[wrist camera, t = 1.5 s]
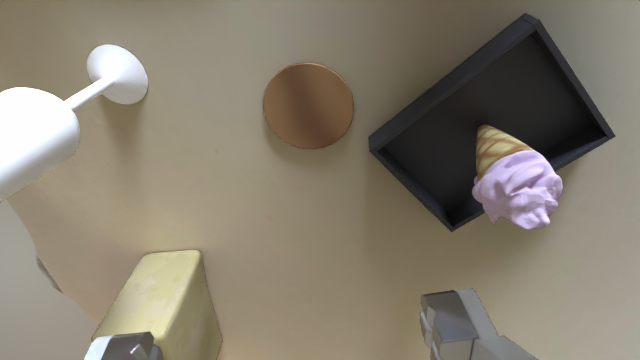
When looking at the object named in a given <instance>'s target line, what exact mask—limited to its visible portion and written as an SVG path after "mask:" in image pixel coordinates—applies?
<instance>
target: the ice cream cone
mask: <svg viewBox="0 0 640 360" xmlns="http://www.w3.org/2000/svg"><path fill="white" fill-rule="evenodd" d="M476 169H477V176H476V177H475V178H474V184H475V186H474V187H473V190H472V195H473V197H474V198H475V199H476V200H477V201H478V202H480V203H482V204H483V209H484V211H485V212H486V213H487V214H488V216H489V218H490V220H491V221H492V223H493V224H495V223H496V221H497V219H498V218H499V217H500V216H502V217H505V218H508V219H509V220H510V221H511V222H512V223H513V224H515V225H518V226H520V227H522V228H524V229H525V230H526V229H527V230H530V229H535V228H542V227H546V226H547V225H549V222H550V220H549V218H548V216H549V215H551V214H552V213H553V211H554V210H555V209H556V208H557V206H558V203H557V200H558V199H559V198H560V196H561V192H562V179H561V178H560V177H559V176H558V175H556V174H555V172H554V170H553V168H552V167H551V165H550V163H549V162H548V161H547V160H546V158H544V157H543V156H542V155H541V154H540V153H538V152H536V151H535V150H533V149H532V148H530V147H529V146H528V145H526V144H525V143H523V142H521V141H519V140H518V139H516V138H514V137H512V136H510V135H508V134H506V133H504V132H502V131H500V130H498V129H496V128H493V127H491V126H489V125H487V124H483V125H481V126H479V127H478V129H477V139H476Z"/></svg>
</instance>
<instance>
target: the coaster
mask: <svg viewBox="0 0 640 360" xmlns="http://www.w3.org/2000/svg"><path fill="white" fill-rule="evenodd" d="M263 110H264V115H265V118H266V121H267V123H268V125H269V127H270V128H271V130H272V131H273V132H274V133H275V134H276V135H277V136H278V137H279V138H280V139H281V140H283V141H284V142H286V143H288V144H290V145H292V146H295V147H298V148H303V149H318V148H322V147H326V146H328V145H331V144H332V143H334V142H336V141H337V140H339V139H340V138H341V137H342V136H343V135H344V134H345V132H346V131H347V130H348V128H349V126H350V124H351V121H352V118H353V112H354V103H353V97H352V94H351V91H350V89H349V87H348V85H347V84H346V82H345V81H344V80H343V79H342V77H340V76H339V75H338V74H337V73H336V72H334V71H333V70H332V69H330V68H328V67H326V66H323V65H320V64H316V63H297V64H293V65H290V66H288V67H286V68H284V69H282V70H281V71H279V72H278V73H277V74H276V75H275V76H274V77H273V78H272V79H271V81H270V82H269V84H268V86H267V88H266V90H265V94H264V98H263Z"/></svg>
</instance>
